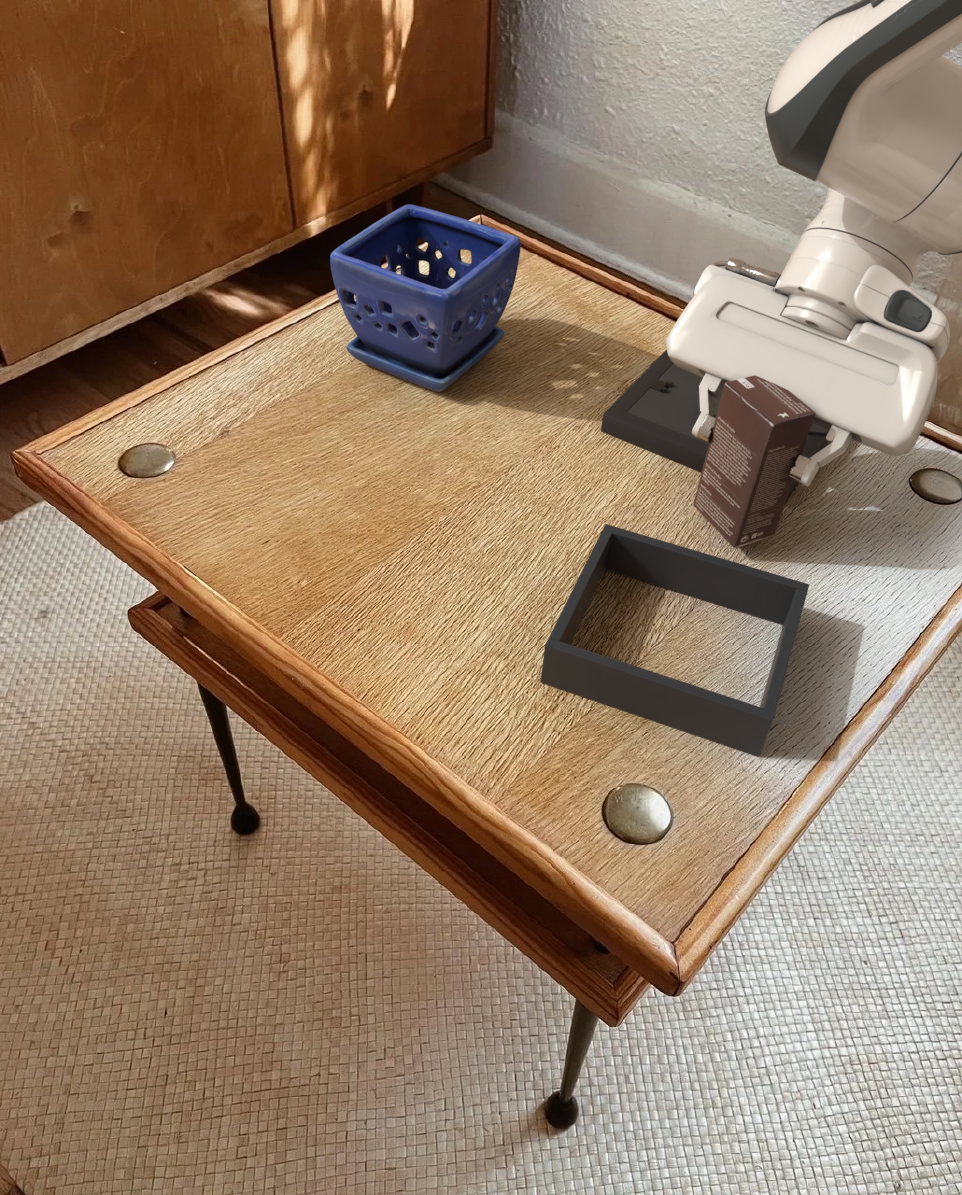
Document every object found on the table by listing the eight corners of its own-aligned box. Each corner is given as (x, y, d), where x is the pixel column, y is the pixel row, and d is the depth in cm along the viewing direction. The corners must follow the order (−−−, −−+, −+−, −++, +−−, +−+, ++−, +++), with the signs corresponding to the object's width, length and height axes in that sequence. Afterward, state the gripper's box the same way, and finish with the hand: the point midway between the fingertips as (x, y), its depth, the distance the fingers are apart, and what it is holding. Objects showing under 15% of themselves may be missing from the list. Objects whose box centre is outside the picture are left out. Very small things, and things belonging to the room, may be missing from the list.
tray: (795, 621, 78) (809, 583, 75) (758, 757, 69) (773, 720, 66) (599, 561, 81) (605, 523, 78) (539, 682, 72) (544, 645, 69)
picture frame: (837, 429, 95) (664, 364, 101) (844, 409, 93) (668, 345, 99) (784, 506, 87) (599, 431, 93) (791, 486, 85) (602, 410, 92)
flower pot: (330, 367, 98) (321, 251, 90) (409, 309, 107) (407, 197, 98) (446, 414, 94) (448, 296, 85) (519, 349, 102) (528, 236, 93)
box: (778, 535, 83) (819, 412, 74) (732, 550, 81) (769, 427, 73) (734, 490, 86) (768, 368, 78) (689, 504, 85) (719, 381, 76)
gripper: (706, 234, 78) (622, 398, 80) (970, 327, 70) (871, 507, 72) (721, 266, 84) (642, 418, 86) (967, 356, 76) (875, 522, 78)
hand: (749, 460), depth 79 cm, fingers closed on box, 7 cm apart
